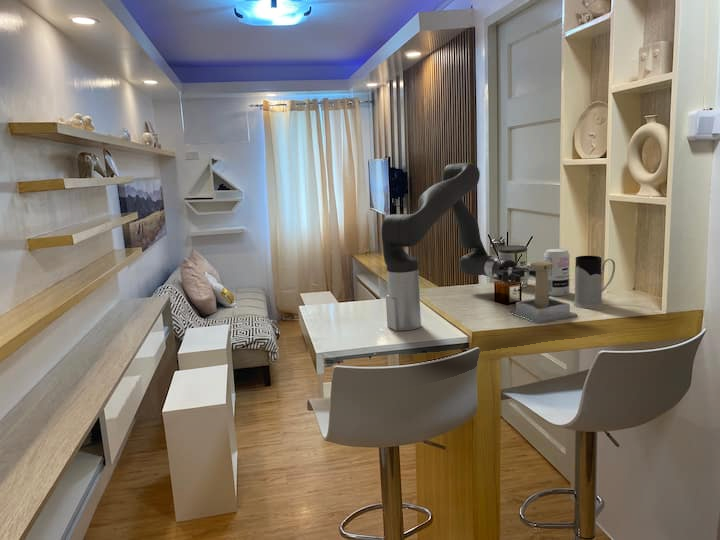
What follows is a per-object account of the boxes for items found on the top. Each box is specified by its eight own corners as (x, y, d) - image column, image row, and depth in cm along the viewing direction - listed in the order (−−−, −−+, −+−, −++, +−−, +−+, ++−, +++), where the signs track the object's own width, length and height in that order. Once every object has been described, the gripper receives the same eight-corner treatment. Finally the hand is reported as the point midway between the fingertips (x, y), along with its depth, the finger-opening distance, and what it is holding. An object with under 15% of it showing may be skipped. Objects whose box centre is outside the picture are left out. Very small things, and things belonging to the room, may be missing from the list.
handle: (555, 313, 179) (555, 263, 176) (535, 315, 178) (534, 265, 175) (548, 309, 184) (547, 261, 181) (528, 311, 183) (527, 263, 180)
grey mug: (567, 303, 191) (567, 257, 188) (604, 297, 195) (604, 252, 192) (585, 309, 183) (585, 261, 180) (623, 303, 187) (624, 256, 184)
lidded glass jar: (504, 281, 227) (503, 244, 225) (531, 283, 222) (530, 245, 219) (494, 287, 219) (493, 249, 216) (522, 289, 213) (522, 250, 211)
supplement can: (548, 290, 210) (548, 247, 207) (572, 292, 205) (572, 248, 202) (540, 295, 203) (540, 251, 201) (565, 297, 199) (565, 252, 196)
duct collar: (538, 323, 172) (538, 311, 171) (509, 313, 185) (509, 301, 184) (577, 316, 177) (577, 304, 176) (546, 306, 190) (546, 295, 189)
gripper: (481, 260, 195) (511, 268, 180) (518, 255, 200) (550, 262, 185) (482, 283, 197) (511, 292, 182) (519, 277, 202) (550, 286, 187)
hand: (531, 277), depth 184 cm, fingers open, 8 cm apart
